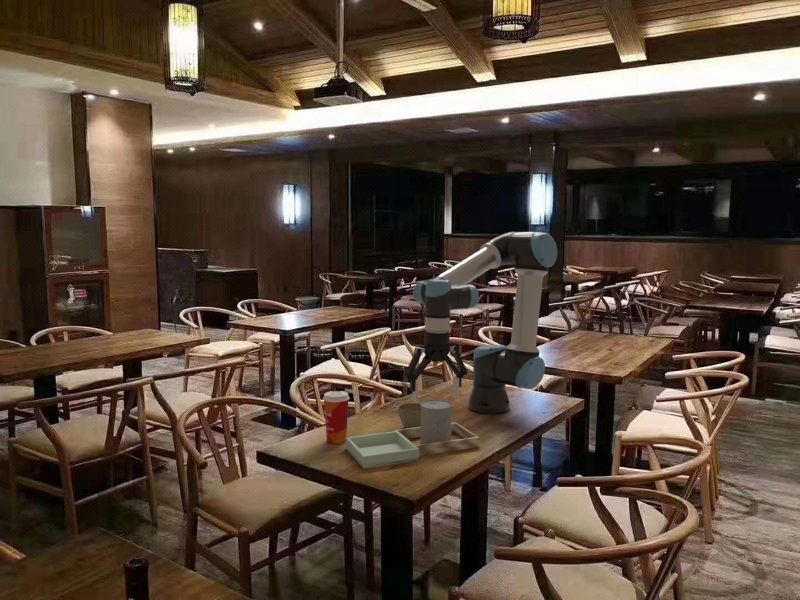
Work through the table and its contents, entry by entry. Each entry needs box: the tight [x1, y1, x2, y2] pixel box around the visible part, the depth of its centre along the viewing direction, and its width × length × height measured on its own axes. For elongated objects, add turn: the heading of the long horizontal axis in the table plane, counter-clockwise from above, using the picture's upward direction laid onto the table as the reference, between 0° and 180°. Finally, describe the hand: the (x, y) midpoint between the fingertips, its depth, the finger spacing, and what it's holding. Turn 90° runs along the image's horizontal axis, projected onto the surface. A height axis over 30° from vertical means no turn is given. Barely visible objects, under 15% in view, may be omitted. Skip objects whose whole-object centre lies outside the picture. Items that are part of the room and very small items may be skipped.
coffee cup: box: [322, 390, 350, 445], centre depth 195 cm, size 8×8×15 cm
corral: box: [393, 422, 480, 457], centre depth 194 cm, size 22×16×3 cm
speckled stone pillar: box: [420, 399, 453, 445], centre depth 194 cm, size 10×10×12 cm
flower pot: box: [397, 402, 421, 429], centre depth 208 cm, size 10×10×7 cm
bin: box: [345, 430, 420, 470], centre depth 184 cm, size 17×17×4 cm
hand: (435, 399), depth 192 cm, fingers open, 13 cm apart
